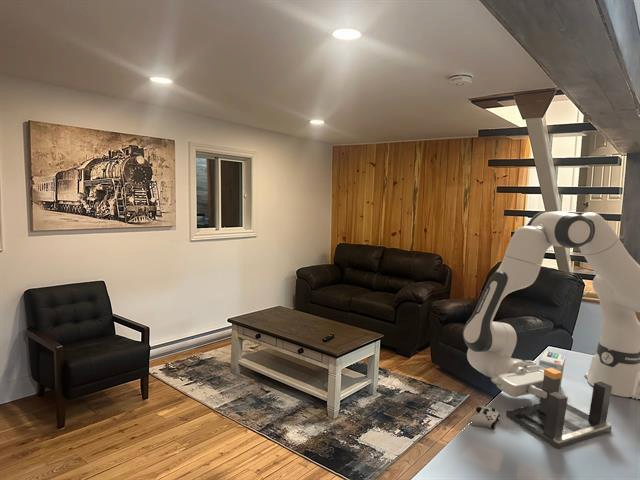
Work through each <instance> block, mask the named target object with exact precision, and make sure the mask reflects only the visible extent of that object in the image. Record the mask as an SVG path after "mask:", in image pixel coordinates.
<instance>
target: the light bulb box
mask: <svg viewBox="0 0 640 480" xmlns="http://www.w3.org/2000/svg"><path fill="white" fill-rule="evenodd" d="M565 362H566V355H565V354H559V353H556V352H553V351H552V352H551V351H548V350H543V352H542V355H541V357H540V359H539V362H538V366H542V367H544V368H546V369H548V368H554V369H556V370H558V371H560V372H562V378H561V381H560V387H559V390H560V389H561V387H562V382H563V374H564V368H565Z"/></svg>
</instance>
